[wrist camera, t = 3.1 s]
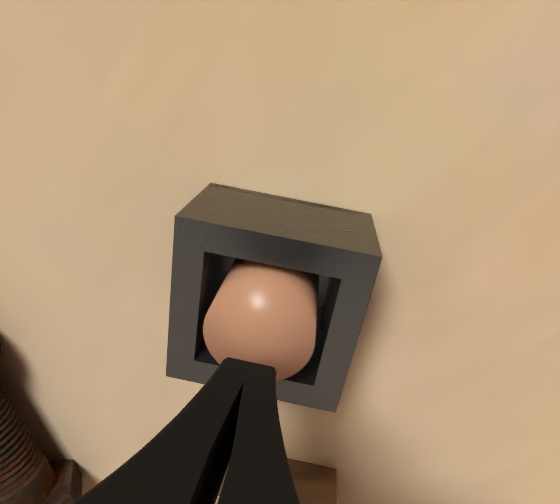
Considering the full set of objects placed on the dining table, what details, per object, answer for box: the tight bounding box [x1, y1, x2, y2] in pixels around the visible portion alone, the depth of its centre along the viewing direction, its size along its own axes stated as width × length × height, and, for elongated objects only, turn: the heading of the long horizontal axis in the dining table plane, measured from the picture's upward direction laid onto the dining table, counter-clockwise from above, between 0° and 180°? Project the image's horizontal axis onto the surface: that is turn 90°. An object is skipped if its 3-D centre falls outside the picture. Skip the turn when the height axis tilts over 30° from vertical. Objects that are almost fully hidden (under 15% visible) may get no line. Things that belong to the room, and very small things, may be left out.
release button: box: [203, 258, 319, 381], centre depth 15 cm, size 4×4×4 cm
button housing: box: [166, 183, 382, 413], centre depth 15 cm, size 6×6×4 cm
